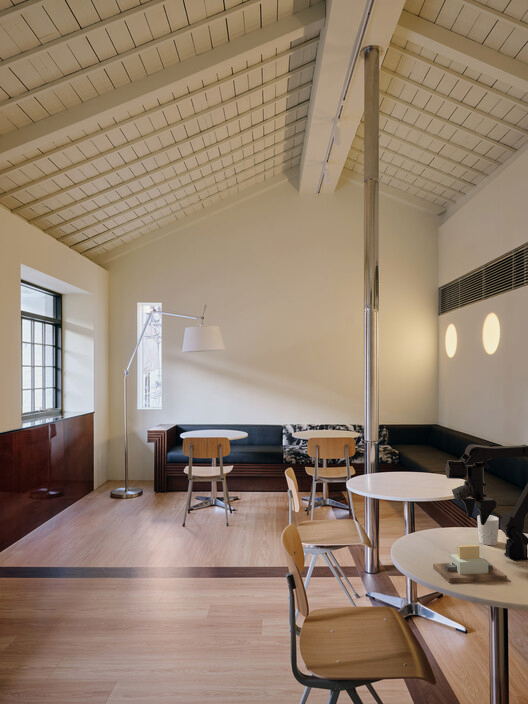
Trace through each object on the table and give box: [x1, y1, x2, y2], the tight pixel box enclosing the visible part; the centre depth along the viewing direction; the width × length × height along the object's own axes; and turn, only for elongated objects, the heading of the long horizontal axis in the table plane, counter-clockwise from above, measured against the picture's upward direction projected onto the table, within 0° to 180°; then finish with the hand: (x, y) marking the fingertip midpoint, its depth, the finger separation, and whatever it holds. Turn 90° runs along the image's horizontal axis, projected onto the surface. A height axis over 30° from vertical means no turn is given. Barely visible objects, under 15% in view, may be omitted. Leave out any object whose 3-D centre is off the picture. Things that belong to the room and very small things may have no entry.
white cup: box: [476, 514, 500, 546], centre depth 199 cm, size 8×8×10 cm
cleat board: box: [432, 561, 508, 584], centre depth 169 cm, size 20×12×3 cm, turn 95°
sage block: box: [449, 544, 489, 574], centre depth 169 cm, size 10×7×8 cm
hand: (476, 521), depth 185 cm, fingers open, 9 cm apart
